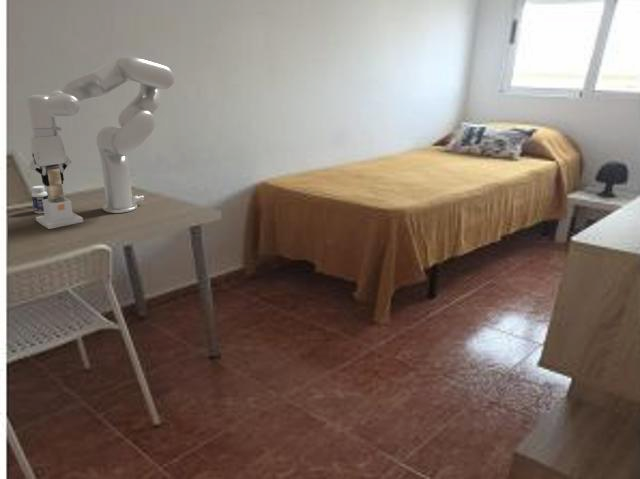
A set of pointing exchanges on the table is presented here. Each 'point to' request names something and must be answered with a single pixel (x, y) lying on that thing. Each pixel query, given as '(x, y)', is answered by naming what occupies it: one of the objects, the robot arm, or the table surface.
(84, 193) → the table surface
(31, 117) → the robot arm
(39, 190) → the pill bottle
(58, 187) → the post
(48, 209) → the white stand
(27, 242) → the table surface
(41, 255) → the table surface
